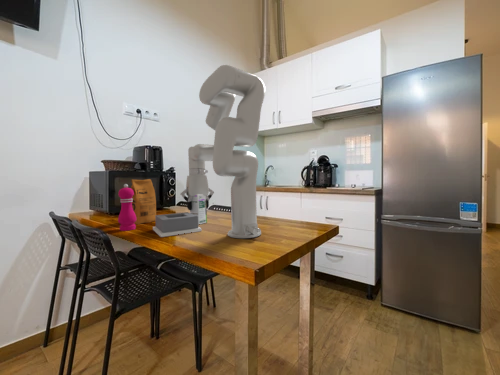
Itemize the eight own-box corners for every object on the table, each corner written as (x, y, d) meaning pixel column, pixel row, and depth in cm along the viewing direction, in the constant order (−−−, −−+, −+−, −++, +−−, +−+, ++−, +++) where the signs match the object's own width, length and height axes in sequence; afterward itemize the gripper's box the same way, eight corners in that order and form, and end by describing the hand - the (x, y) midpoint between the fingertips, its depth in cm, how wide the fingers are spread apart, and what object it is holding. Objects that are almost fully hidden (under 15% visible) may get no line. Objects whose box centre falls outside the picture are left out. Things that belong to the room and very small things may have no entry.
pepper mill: (140, 227, 107) (138, 183, 106) (130, 231, 100) (128, 184, 99) (125, 227, 108) (123, 183, 107) (114, 231, 101) (112, 184, 100)
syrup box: (199, 224, 110) (198, 193, 109) (189, 223, 113) (189, 193, 112) (207, 222, 115) (206, 193, 114) (198, 221, 118) (197, 192, 117)
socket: (201, 231, 97) (201, 216, 97) (160, 237, 88) (160, 220, 88) (189, 224, 110) (188, 211, 110) (152, 229, 102) (152, 215, 102)
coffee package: (125, 223, 119) (123, 179, 118) (148, 219, 129) (146, 179, 128) (135, 225, 113) (133, 179, 112) (159, 220, 123) (157, 178, 122)
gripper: (210, 172, 121) (211, 206, 121) (176, 173, 111) (177, 210, 112) (217, 172, 114) (218, 208, 115) (181, 172, 105) (182, 211, 106)
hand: (198, 208), depth 114 cm, fingers closed on syrup box, 7 cm apart
